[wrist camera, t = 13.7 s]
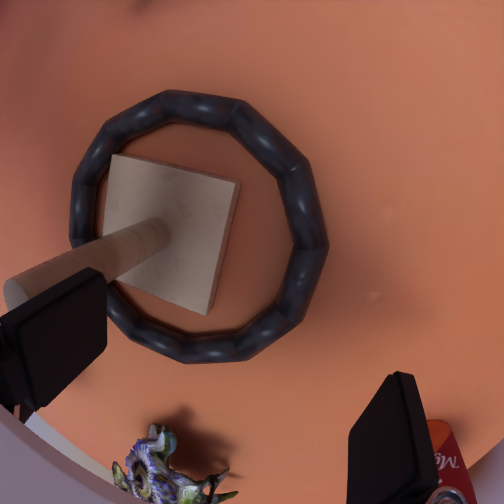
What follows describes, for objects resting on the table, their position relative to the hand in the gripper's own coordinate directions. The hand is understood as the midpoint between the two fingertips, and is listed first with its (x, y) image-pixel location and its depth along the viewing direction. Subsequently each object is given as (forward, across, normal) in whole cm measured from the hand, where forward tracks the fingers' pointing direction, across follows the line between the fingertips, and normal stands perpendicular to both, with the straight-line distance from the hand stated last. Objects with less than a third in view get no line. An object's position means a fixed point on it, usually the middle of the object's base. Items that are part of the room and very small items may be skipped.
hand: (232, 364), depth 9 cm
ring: (+8, +6, 0) cm, 10 cm away
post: (+9, +7, 0) cm, 12 cm away
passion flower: (+9, +2, +21) cm, 23 cm away
